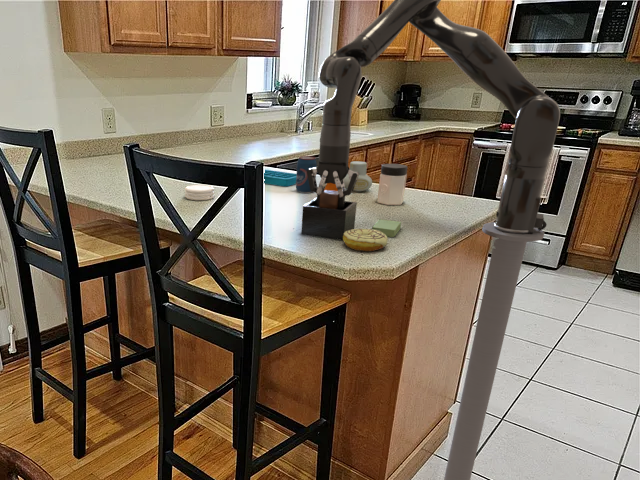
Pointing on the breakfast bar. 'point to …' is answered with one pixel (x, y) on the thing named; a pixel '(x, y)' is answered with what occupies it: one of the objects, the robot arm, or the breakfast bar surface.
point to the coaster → (199, 192)
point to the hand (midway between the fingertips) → (329, 208)
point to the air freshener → (363, 179)
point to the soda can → (304, 173)
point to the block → (329, 199)
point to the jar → (392, 184)
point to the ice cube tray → (279, 178)
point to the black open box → (328, 220)
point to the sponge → (387, 227)
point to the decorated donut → (365, 239)
